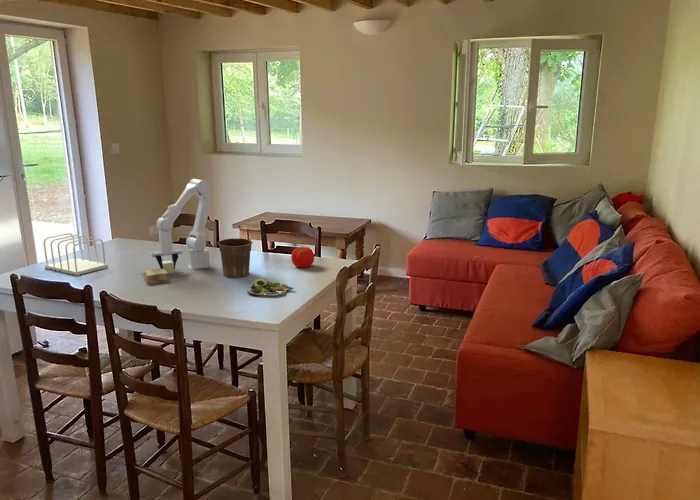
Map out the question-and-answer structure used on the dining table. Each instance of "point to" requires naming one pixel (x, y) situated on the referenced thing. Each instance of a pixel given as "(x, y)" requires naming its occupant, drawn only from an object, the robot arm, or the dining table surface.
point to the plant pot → (235, 257)
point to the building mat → (171, 276)
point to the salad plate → (267, 288)
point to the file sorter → (76, 264)
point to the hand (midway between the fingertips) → (167, 269)
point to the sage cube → (168, 266)
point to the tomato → (302, 257)
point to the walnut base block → (156, 276)
